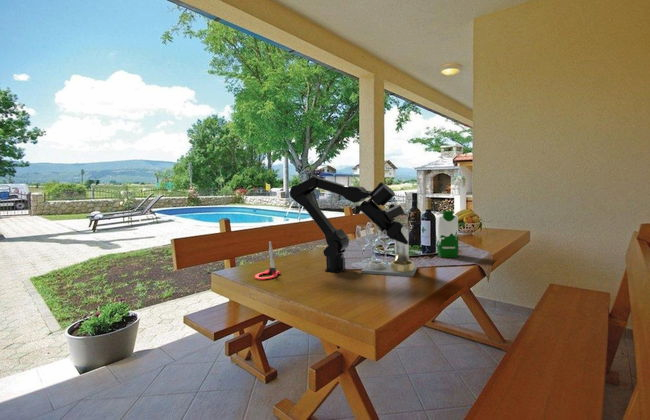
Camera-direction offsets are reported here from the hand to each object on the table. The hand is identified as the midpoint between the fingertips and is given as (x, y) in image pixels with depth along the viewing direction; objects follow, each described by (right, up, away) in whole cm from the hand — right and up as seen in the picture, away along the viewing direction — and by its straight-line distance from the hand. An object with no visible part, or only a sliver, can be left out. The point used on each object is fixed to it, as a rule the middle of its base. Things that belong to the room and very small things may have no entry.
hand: (405, 242), depth 121 cm
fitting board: (-5, -11, +3) cm, 13 cm away
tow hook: (-52, -14, +2) cm, 53 cm away
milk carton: (+24, -8, +23) cm, 35 cm away
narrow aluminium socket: (-10, -11, +5) cm, 16 cm away
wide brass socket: (-1, -11, +1) cm, 11 cm away
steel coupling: (-1, -7, +1) cm, 7 cm away
